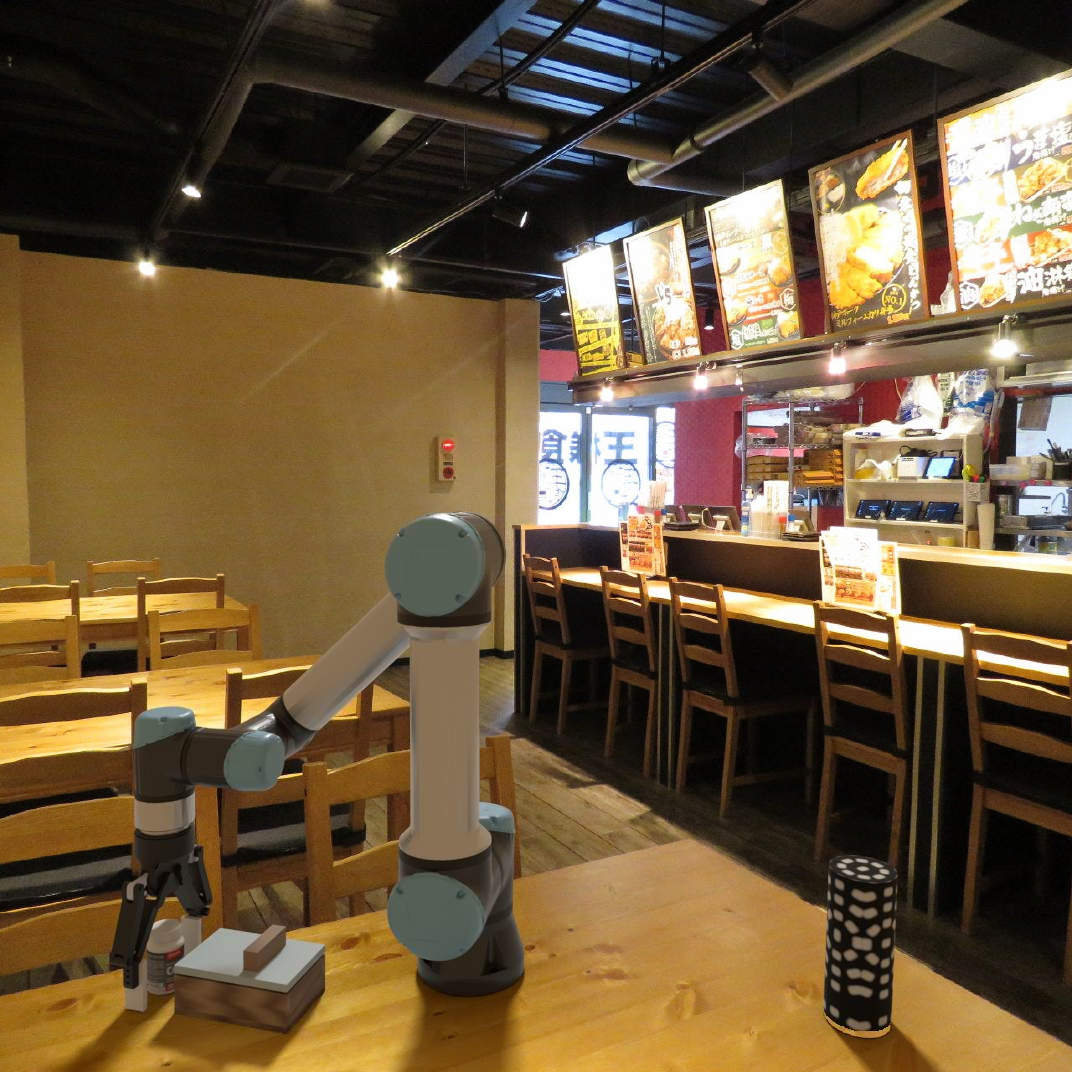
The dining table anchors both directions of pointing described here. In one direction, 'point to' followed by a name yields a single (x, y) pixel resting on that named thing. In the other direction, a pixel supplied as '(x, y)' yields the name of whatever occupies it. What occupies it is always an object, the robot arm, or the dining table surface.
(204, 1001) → the wooden box
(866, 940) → the white-spotted black cylinder
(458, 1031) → the dining table surface
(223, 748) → the robot arm
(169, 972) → the pill bottle
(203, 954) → the lid
